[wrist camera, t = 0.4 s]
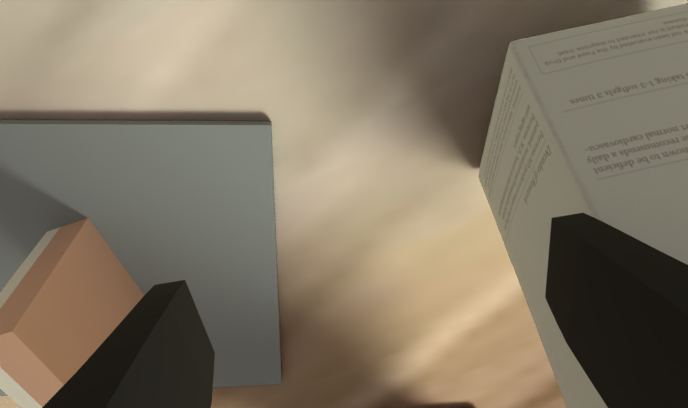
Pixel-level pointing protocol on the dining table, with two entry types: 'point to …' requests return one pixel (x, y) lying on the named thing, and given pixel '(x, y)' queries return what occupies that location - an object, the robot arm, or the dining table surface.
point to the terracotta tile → (60, 311)
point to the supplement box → (589, 151)
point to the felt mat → (160, 217)
